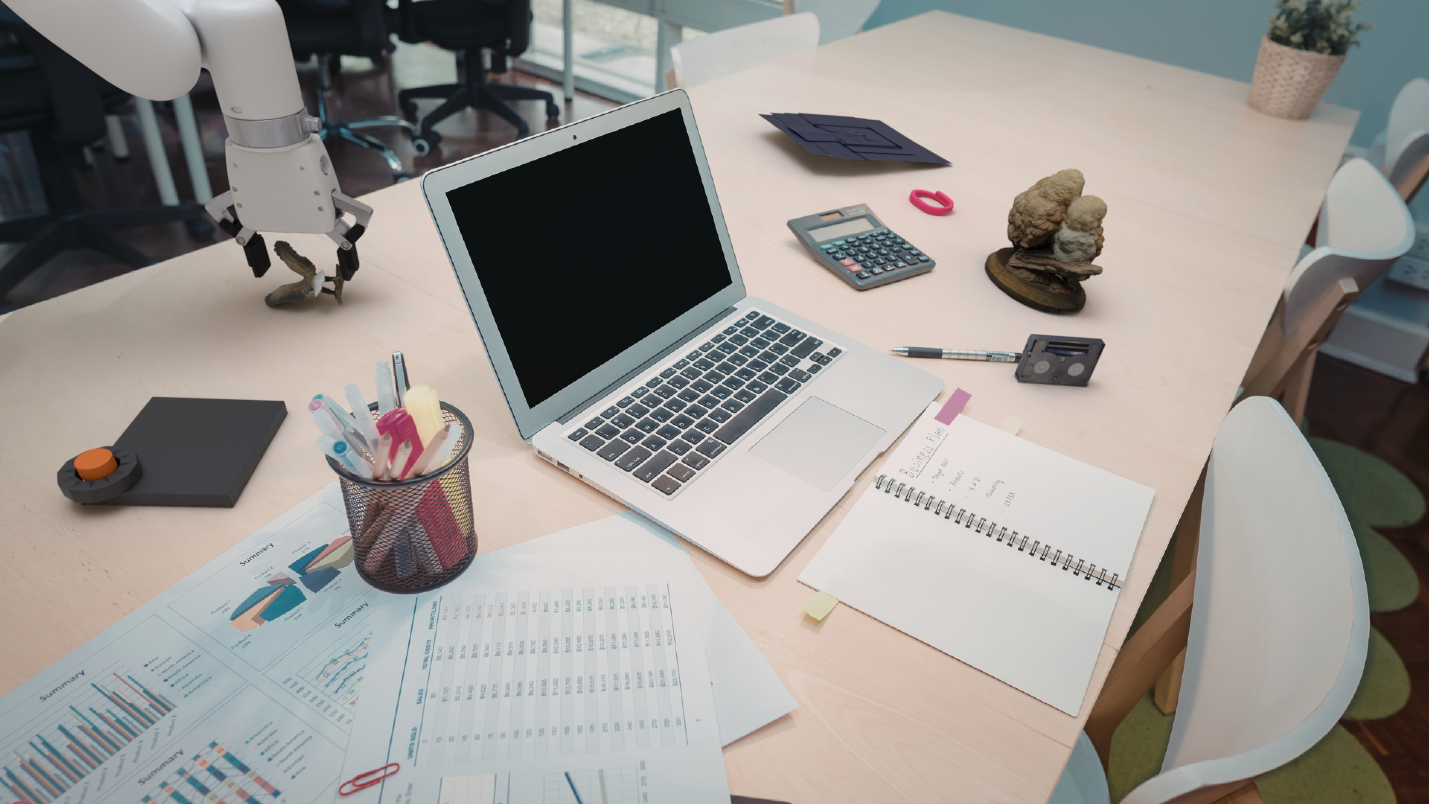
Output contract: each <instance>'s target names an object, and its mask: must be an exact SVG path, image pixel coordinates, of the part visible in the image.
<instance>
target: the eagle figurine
mask: <svg viewBox="0 0 1429 804" xmlns="http://www.w3.org/2000/svg"><path fill="white" fill-rule="evenodd" d="M273 247H274V248H273V251H274V253H275V255H276V256H277V257H279V259H280V260H281V261H282V262H284V264H285V265H286V266H287V267H288V269H289V270H291V272H294V273H296V274H298V275H299V276H301V277H303V279H302V280H300V281H297V282H292V283H287V284H283V285H280V286H278V288H276V290H273V291H272V292H270V293H268V294H267V295H265V296H264V302H265V304H266V306H276V305H278V304H279V305H280V304H282V303H289V302H290V303H293V304H295V303H298V302H300V301H304V300H305V299H306V298H307V296H308V295H309V293H311V292H313V293H314V298H317V297H318V296H319V294H320V293H321V294H326V295H328V296H334V299H335V300H336V302H337V303H338V304H339V305H342V304H343V298H342V293H343V289H344V284H345V280H343V278H342V274H341V270H340V266H339V263H336V264H335V276H330V275H325V274H326V273H325V271H324V269H321V270H320V271H319V272H318V273H317V268H316V265H315V264H314V263H313V261H311V260H310V259H309V258H308V257H307V256H305V255H304V256H303V255H300V254H299V253H298V252H297V250H295V249H294V248H293V247H292V246H291V244H290V243H289V242H288V241H286V240H276V241H275V242H274V245H273ZM325 283H333V285H334V290H332V289H330V288H329V287H325V286H324V284H325Z"/></svg>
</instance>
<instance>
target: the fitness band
mask: <svg viewBox="0 0 1429 804" xmlns="http://www.w3.org/2000/svg"><path fill="white" fill-rule="evenodd" d="M919 197H926V198H931V199H933V200H935V201H937V202H939V203H940V204H941V205H943V206H942V207H940V206H939V207H938V206H933V205H930V204H928V203H926V202H925V201H923V200H922V199H921V198H919ZM909 202H911V204H913V205H914V206H915V207H916V208H918V209H919V210H921V211H922V212H923V213H926V214H929V215H932V216H933V215H934V216H941V215H946V214H948V213H950V212H952V211H953V209H954V206H955V202H954V200H953V199H952V198H951V197H950V196H948V195H946V194H945V193H943V192H942V191H941V190H935V192H933V191H929V190H926V189H913V190H911V191H910V194H909Z"/></svg>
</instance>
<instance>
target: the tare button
mask: <svg viewBox="0 0 1429 804" xmlns="http://www.w3.org/2000/svg"><path fill="white" fill-rule="evenodd" d="M97 448H98V449H96V448H91V449H88V450H89V451H88V450H86V451H83V452H84V453H83V452H81V453H82V454H81V453H80V454H81V455H79V454H78V455H79V456H78V457H77V458H76V459H75V461H74V466H75V467H76V469H77V471H78V473H79V475H80V477H81V478H82V479H83V480H86V481H94V480H98V479H101V478H105V477H106V476H108V475H110V474H112V473H113V472H115V471H116V469H117V463H116V461H115V459H114V457H113V454H112V452H111V451H109V450H108V449H103V448H100V447H97Z"/></svg>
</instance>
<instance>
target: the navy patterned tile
mask: <svg viewBox="0 0 1429 804" xmlns="http://www.w3.org/2000/svg"><path fill="white" fill-rule="evenodd" d="M757 115H758V116H759V117H761V118H763V120H765V121H767V122H768V123H769V124H772V126H774V127H775V128H777V129H778V130H779V131H781V132H782V133H783V134H785V135H786V136H788V137H789V138H791V139H792V140H793V141H795V142H796V143H797V144H799V145H800V146H802V147H803V148H804V149H806V150H807V151H808V152H810V153H811V154H812V155H817V156H830V157H832V158H836V159H838V158H839V159H850V160H859V161H870V160H875V161H876V160H877V161H894V162H895V161H896V162H897V161H898V162H919V163H920V162H921V163H926V164H927V163H931V164H945V165H946V164H947V165H949V164H950V165H953V164H954V163H952V162H951V161H949V160H947V159H946V158H944V157H942V156H940V155H939V154H937V153H935V152H933V151H932V150H929V149H928V148H926V147H924V146H923V145H922V144H921V145H920V144H919V143H917V142H916V141H914V140H912V139H911V138H909V137H907V136H906V135H904V134H903V133H901V132H900V131H898V130H896V129H895V128H893V127H891V126H890V125H888V124H887V123H885V122H884V121H882V120H880V119H871V118H863V117H855V116H848V115H833V114H821V113H820V114H819V113H807V112H796V113H794V112H770V114H764V113H757Z"/></svg>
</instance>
